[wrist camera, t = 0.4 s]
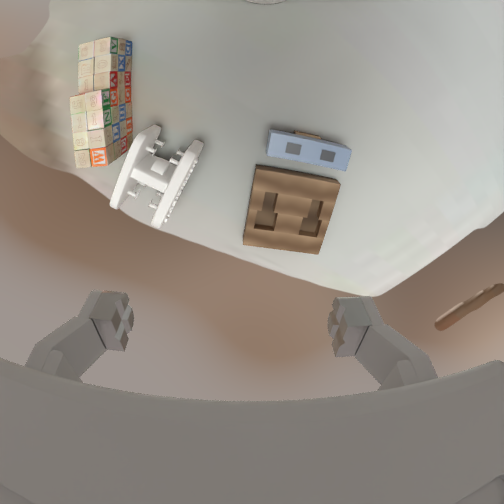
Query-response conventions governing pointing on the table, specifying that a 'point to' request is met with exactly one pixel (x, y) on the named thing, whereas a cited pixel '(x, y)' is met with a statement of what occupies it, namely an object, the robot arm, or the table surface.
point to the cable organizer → (155, 173)
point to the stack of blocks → (102, 102)
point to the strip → (307, 150)
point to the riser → (307, 135)
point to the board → (289, 209)
